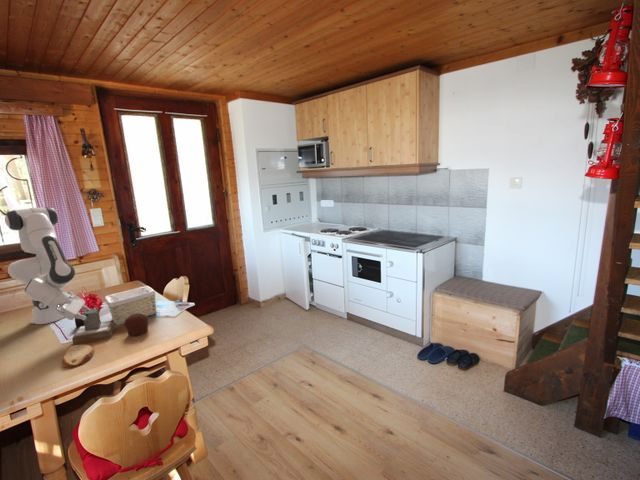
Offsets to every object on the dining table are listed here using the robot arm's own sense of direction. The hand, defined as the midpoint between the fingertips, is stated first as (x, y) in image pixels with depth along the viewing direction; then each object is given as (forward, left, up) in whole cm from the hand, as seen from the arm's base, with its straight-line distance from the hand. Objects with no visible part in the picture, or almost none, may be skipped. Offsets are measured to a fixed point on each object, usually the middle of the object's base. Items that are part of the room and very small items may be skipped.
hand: (88, 315), depth 174 cm
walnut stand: (0, +1, -12) cm, 12 cm away
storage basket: (-18, +18, -12) cm, 28 cm away
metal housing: (0, +1, -7) cm, 7 cm away
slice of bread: (+21, -2, -13) cm, 25 cm away
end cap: (-18, -6, -12) cm, 22 cm away
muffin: (+8, +22, -12) cm, 27 cm away
